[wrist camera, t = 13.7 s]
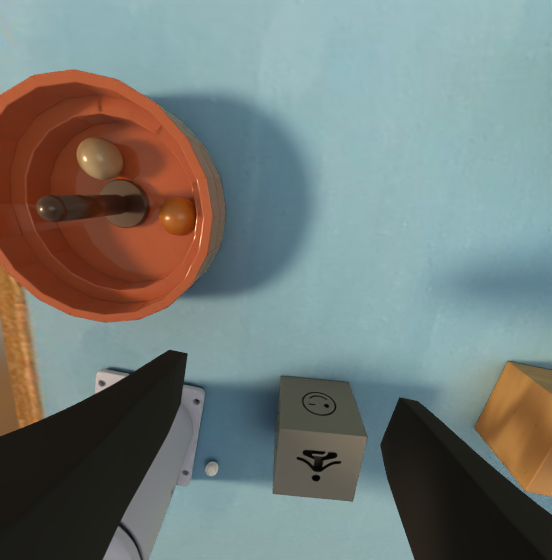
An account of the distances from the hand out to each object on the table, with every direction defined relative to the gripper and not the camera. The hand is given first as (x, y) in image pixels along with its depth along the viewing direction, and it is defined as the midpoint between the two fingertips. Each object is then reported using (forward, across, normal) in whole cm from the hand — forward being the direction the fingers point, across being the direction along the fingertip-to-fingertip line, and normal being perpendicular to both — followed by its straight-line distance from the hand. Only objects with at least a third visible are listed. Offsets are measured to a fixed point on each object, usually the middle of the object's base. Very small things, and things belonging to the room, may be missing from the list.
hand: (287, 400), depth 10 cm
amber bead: (+8, +7, -4) cm, 11 cm away
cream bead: (+9, +13, -6) cm, 17 cm away
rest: (+10, -19, +4) cm, 22 cm away
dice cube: (+10, -4, +8) cm, 14 cm away
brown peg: (+10, +11, -4) cm, 15 cm away
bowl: (+10, +11, -4) cm, 15 cm away
